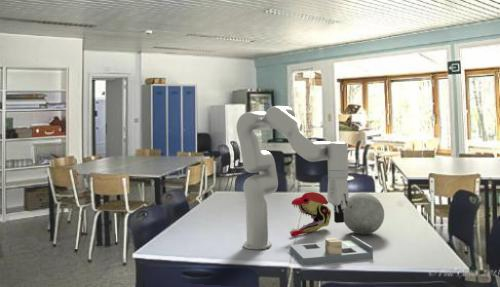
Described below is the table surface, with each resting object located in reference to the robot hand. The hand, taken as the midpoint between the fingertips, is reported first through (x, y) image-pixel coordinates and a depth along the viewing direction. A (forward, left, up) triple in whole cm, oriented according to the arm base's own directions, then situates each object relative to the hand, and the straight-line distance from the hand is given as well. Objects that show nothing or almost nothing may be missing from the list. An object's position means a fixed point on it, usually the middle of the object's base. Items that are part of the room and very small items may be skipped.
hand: (339, 222), depth 159 cm
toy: (-48, +5, -17) cm, 51 cm away
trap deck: (-13, +1, -17) cm, 21 cm away
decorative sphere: (-38, +29, -17) cm, 51 cm away
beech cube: (-8, +1, -14) cm, 16 cm away
